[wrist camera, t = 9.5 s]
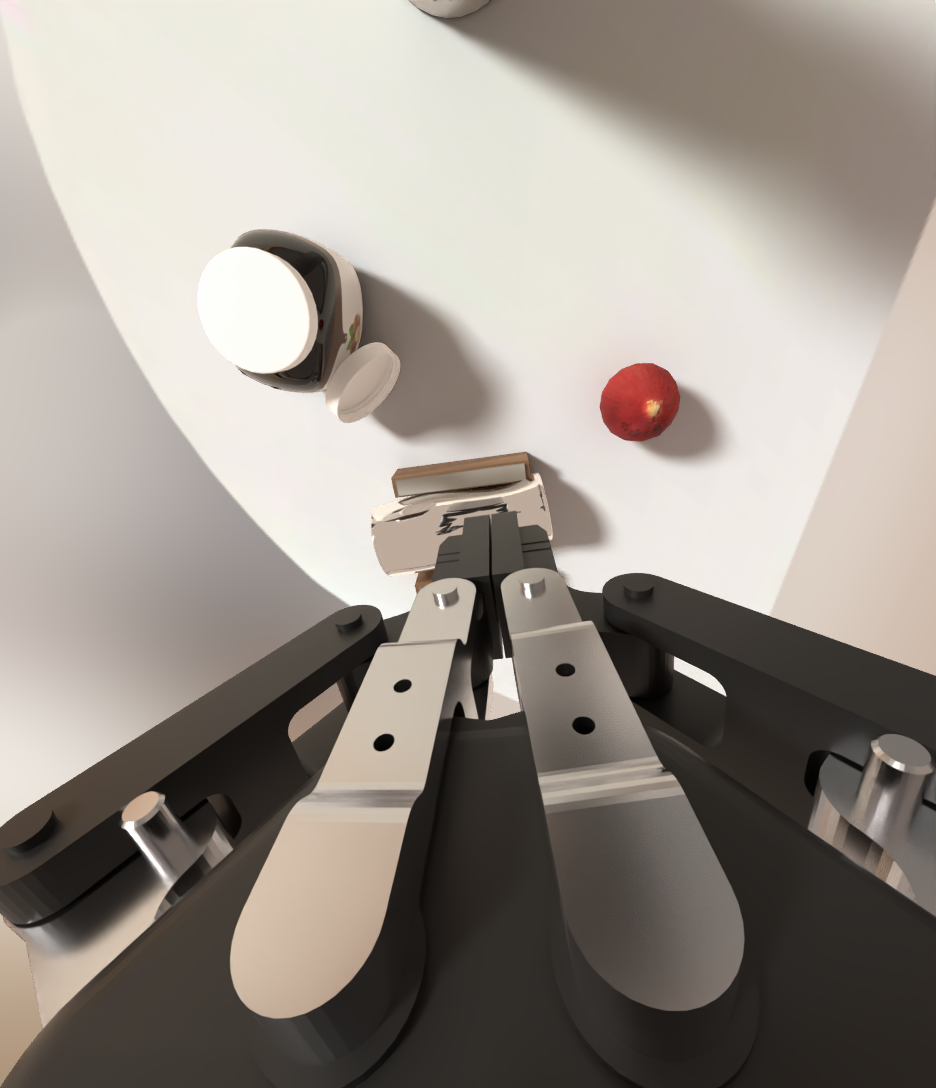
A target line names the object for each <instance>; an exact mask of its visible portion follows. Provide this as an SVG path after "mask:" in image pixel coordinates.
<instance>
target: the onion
mask: <svg viewBox="0 0 936 1088" xmlns="http://www.w3.org/2000/svg"><path fill="white" fill-rule="evenodd" d="M679 401H680V394H679V391H678V387H677V384H676V382H675V380H674V379H673V377H672V376H671V374H670V373H669V372H668V371H667V370H665V369H663V368H661V367H659V366H657V365H655V364H653V363H642V364H634V365H631V366H629V367H626V368H624V369H621V370H620V371H619V372H618V373H617V374H615V375H614V376H613V377H612V378H611V379H610V380H609V382H608V383H607V385H606V387H605V388H604V390H603V392H602V396H601V403H600V410H601V414H602V418H603V421H604V423H605V425H606V426H607V427H608V429H609V430H610V432H611V433H613V434H614V435H616V436H618V437H620V438H622V439H624V440H628V441H644V440H647V439H650V438H653V437H656V436H658V435H660V434H661V433H662V432H663V431H664V430H665V429H666V428H667V427H668V426H669V425H670V424H671V423H672V421H673V419H674V417H675V415H676V414H677V412H678V408H679Z"/></svg>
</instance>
